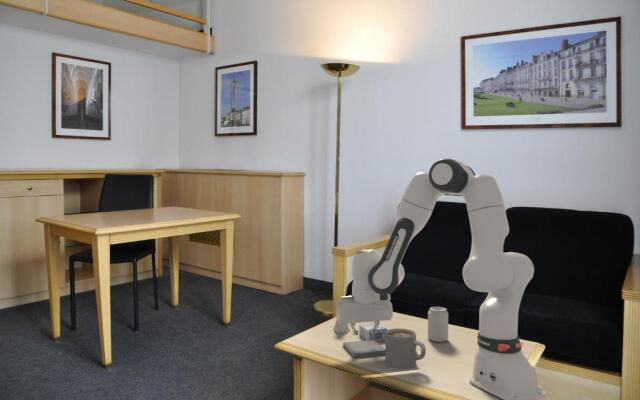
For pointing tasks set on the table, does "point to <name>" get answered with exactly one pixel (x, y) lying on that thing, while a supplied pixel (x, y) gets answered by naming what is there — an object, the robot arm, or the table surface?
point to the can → (438, 324)
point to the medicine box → (367, 335)
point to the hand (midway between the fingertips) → (364, 334)
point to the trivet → (364, 348)
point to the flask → (341, 327)
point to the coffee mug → (402, 348)
